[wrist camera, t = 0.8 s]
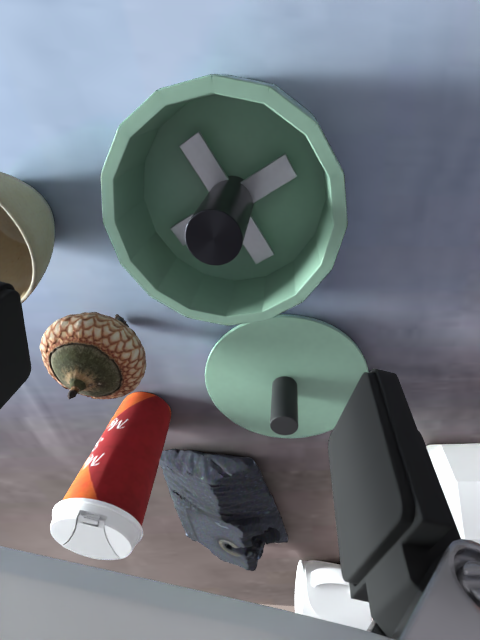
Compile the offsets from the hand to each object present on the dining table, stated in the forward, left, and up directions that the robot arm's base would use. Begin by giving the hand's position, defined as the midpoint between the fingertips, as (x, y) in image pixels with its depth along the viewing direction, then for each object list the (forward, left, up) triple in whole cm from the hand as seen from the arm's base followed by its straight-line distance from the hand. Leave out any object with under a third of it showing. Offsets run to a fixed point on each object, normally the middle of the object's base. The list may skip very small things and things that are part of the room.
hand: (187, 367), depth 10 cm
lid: (+18, 0, -19) cm, 27 cm away
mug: (+56, +1, -20) cm, 60 cm away
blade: (0, -1, -19) cm, 19 cm away
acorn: (+9, -14, -20) cm, 26 cm away
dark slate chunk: (+38, -11, -20) cm, 45 cm away
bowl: (0, -1, -20) cm, 20 cm away
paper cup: (+21, -16, -20) cm, 33 cm away
